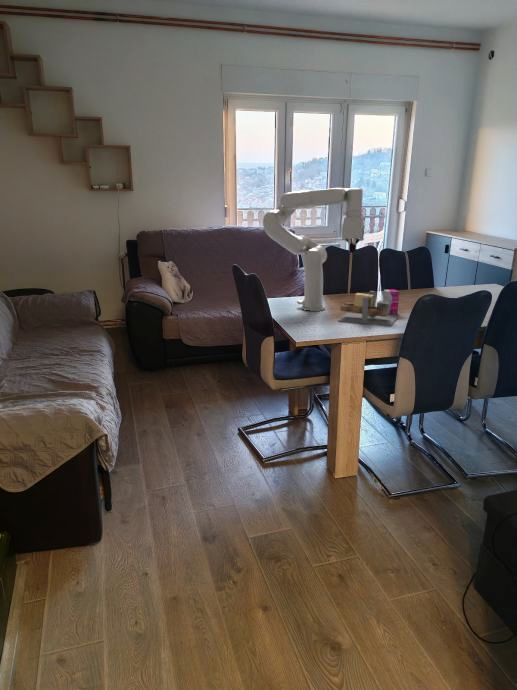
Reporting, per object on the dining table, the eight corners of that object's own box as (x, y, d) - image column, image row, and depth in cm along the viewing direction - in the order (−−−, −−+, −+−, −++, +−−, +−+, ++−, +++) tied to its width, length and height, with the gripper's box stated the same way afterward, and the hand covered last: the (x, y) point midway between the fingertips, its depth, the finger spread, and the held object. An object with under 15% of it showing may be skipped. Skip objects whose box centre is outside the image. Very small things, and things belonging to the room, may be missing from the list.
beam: (340, 310, 248) (341, 295, 246) (343, 307, 254) (345, 292, 251) (386, 317, 240) (387, 301, 237) (388, 314, 245) (390, 298, 243)
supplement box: (387, 314, 256) (388, 291, 253) (381, 311, 262) (383, 289, 259) (398, 313, 258) (399, 291, 254) (392, 311, 263) (393, 289, 260)
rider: (353, 308, 246) (355, 294, 244) (355, 307, 250) (357, 292, 248) (370, 311, 243) (371, 296, 241) (372, 309, 247) (373, 294, 245)
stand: (337, 321, 245) (338, 295, 241) (347, 313, 260) (348, 289, 256) (390, 326, 235) (392, 299, 231) (397, 317, 250) (399, 292, 246)
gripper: (336, 214, 251) (335, 252, 256) (366, 215, 244) (364, 254, 249) (341, 213, 257) (340, 250, 262) (371, 214, 250) (369, 252, 255)
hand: (352, 252), depth 256 cm, fingers closed
